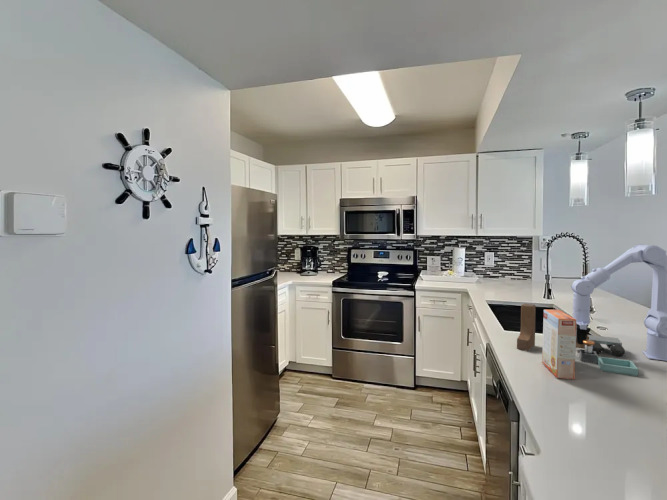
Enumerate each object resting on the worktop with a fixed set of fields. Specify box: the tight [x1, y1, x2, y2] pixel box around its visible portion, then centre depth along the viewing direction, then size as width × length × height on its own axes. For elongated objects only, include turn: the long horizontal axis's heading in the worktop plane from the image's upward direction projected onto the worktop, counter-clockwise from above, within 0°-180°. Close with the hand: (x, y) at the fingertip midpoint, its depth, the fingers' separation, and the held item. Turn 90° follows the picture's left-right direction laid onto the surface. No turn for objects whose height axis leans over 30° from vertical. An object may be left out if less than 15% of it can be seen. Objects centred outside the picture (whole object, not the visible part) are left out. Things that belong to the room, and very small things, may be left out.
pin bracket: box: [578, 348, 599, 364], centre depth 134 cm, size 5×5×3 cm
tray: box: [597, 356, 639, 377], centre depth 125 cm, size 10×8×2 cm
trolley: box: [588, 334, 626, 358], centre depth 142 cm, size 11×11×5 cm
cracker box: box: [541, 309, 577, 380], centre depth 124 cm, size 14×6×21 cm, turn 167°
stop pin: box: [583, 340, 595, 354], centre depth 134 cm, size 4×4×7 cm
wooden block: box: [516, 303, 536, 352], centre depth 148 cm, size 9×4×18 cm, turn 134°
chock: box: [576, 334, 589, 350], centre depth 143 cm, size 5×4×5 cm
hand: (580, 342), depth 143 cm, fingers closed on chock, 4 cm apart
